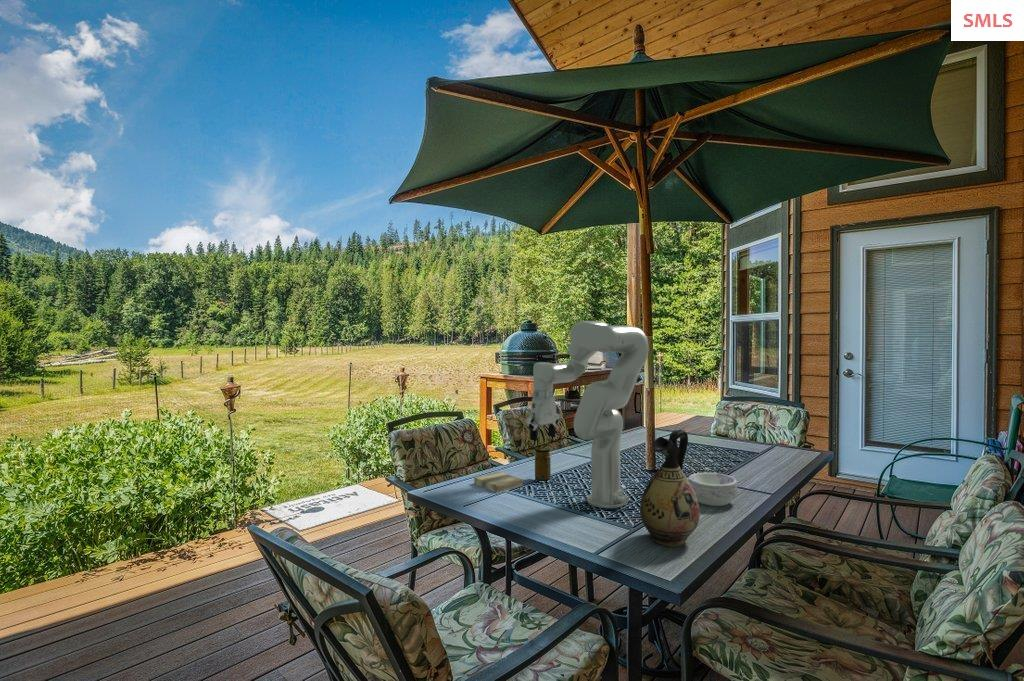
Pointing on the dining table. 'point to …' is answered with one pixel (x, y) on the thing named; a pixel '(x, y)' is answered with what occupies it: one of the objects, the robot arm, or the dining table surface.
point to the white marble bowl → (713, 488)
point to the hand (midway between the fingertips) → (542, 438)
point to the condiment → (542, 465)
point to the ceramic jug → (670, 496)
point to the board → (498, 481)
